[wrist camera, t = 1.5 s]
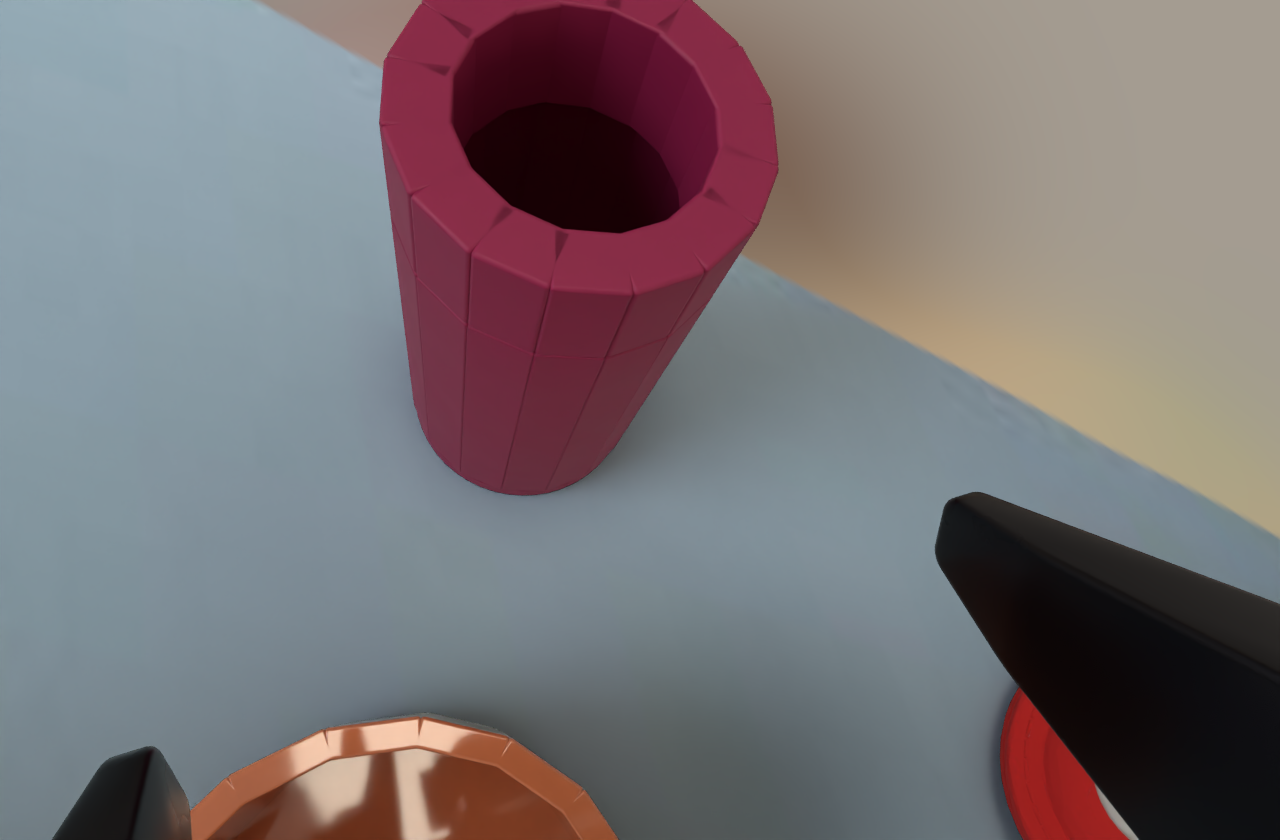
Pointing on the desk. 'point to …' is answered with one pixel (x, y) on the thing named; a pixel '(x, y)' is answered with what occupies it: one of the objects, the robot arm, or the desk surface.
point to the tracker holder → (1051, 783)
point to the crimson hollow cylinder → (561, 216)
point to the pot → (400, 788)
